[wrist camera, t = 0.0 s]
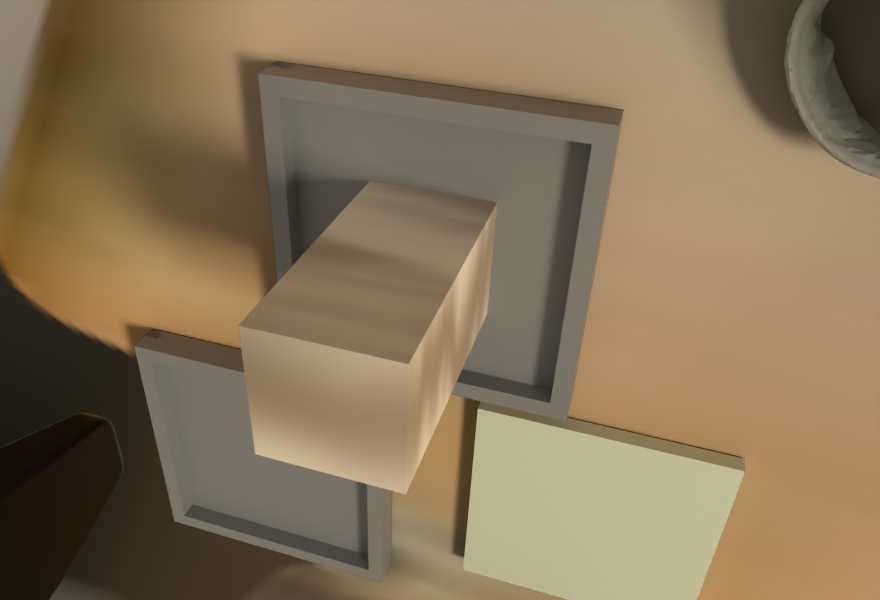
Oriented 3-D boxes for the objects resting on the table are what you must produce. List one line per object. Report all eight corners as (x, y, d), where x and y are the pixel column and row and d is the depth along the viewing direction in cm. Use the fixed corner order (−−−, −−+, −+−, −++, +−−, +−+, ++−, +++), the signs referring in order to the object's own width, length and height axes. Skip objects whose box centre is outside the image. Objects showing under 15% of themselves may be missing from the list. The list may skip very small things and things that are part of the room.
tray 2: (571, 398, 26) (565, 421, 25) (299, 336, 28) (284, 355, 28) (623, 110, 20) (618, 125, 20) (277, 61, 23) (257, 73, 22)
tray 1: (391, 560, 34) (381, 582, 33) (189, 502, 36) (174, 521, 35) (392, 385, 28) (381, 405, 27) (152, 328, 31) (134, 346, 30)
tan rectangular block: (487, 313, 25) (405, 494, 18) (368, 289, 26) (252, 453, 19) (497, 202, 23) (408, 364, 16) (367, 180, 23) (234, 324, 17)
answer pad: (685, 619, 30) (684, 632, 30) (466, 558, 32) (463, 569, 32) (744, 458, 25) (744, 471, 25) (482, 397, 27) (477, 408, 27)
